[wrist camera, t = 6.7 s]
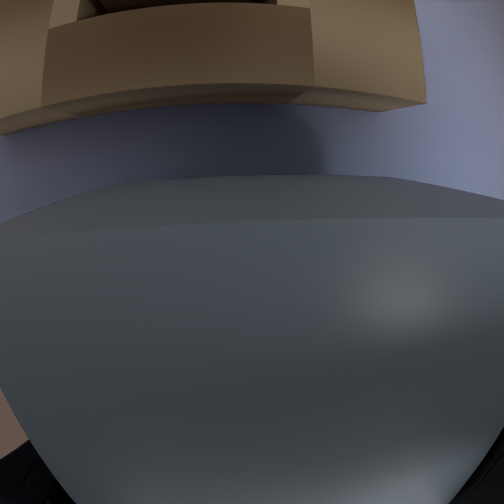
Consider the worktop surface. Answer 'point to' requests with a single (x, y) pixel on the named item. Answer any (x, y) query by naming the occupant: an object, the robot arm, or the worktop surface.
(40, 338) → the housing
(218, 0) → the walnut peg
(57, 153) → the worktop surface
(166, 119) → the worktop surface
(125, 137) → the worktop surface
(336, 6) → the socket board
